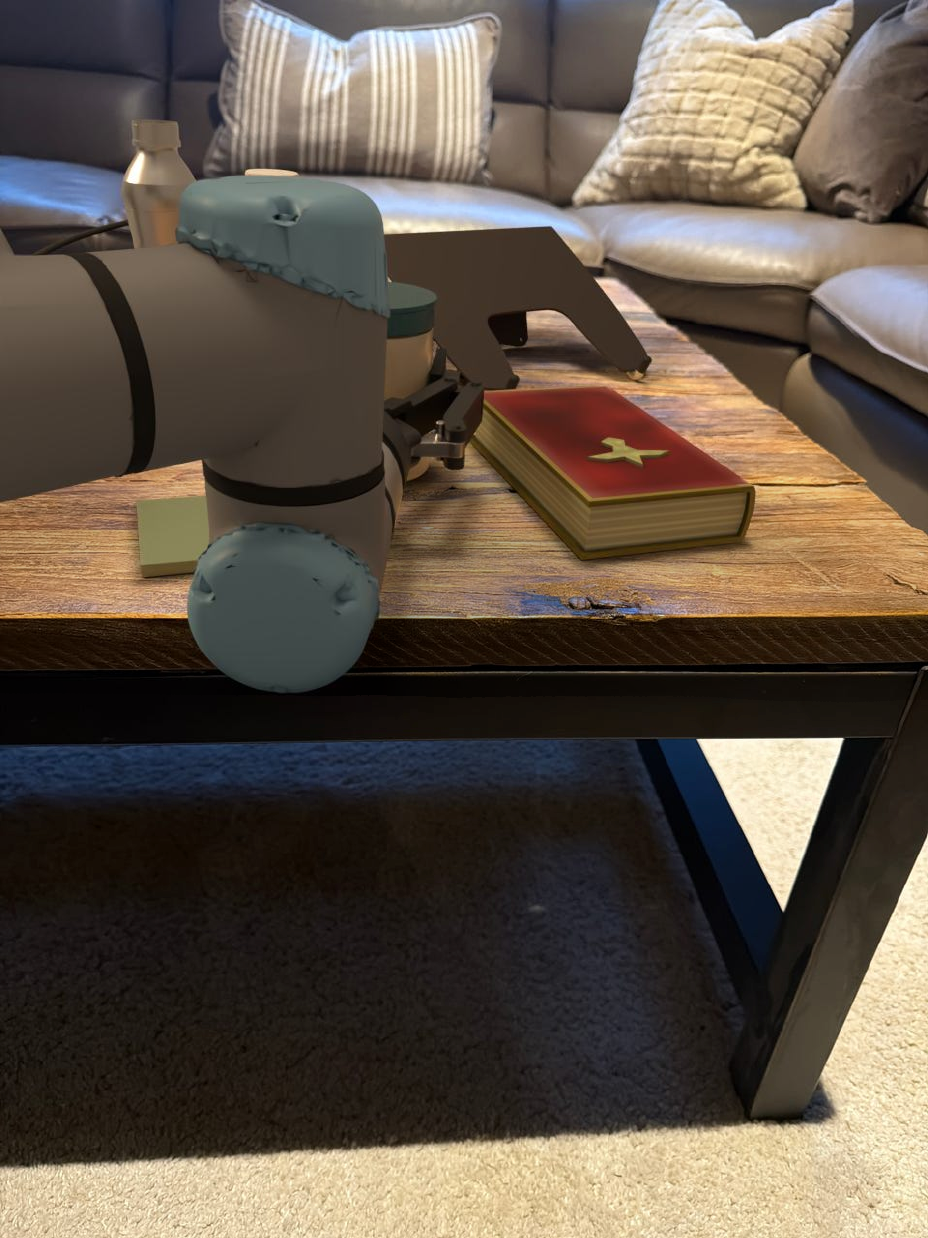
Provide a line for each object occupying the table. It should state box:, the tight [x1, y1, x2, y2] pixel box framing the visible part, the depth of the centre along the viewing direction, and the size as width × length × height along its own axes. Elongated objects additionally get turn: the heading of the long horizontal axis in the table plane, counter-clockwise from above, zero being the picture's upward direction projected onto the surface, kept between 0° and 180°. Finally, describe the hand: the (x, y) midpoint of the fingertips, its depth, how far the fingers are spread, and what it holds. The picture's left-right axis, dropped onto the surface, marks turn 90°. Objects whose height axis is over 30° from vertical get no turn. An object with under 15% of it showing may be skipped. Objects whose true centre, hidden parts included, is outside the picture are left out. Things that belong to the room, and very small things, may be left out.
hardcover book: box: [469, 384, 756, 561], centre depth 68 cm, size 12×21×4 cm, turn 19°
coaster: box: [136, 495, 209, 578], centre depth 59 cm, size 9×9×1 cm
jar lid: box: [387, 282, 437, 337], centre depth 64 cm, size 8×8×2 cm
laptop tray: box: [384, 225, 653, 391], centre depth 94 cm, size 23×23×9 cm
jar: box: [384, 327, 434, 482], centre depth 66 cm, size 8×8×12 cm
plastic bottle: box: [120, 119, 197, 249], centre depth 83 cm, size 6×7×20 cm
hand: (381, 362), depth 70 cm, fingers closed on jar, 8 cm apart
